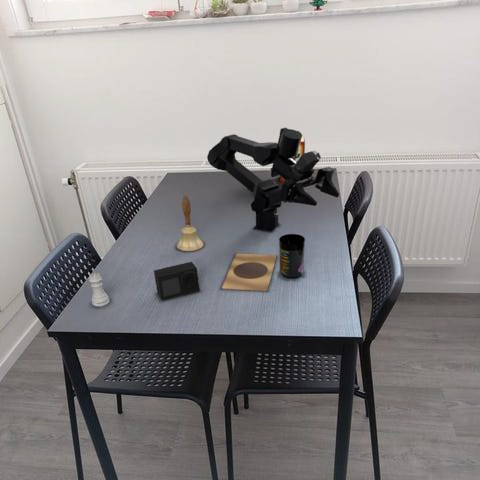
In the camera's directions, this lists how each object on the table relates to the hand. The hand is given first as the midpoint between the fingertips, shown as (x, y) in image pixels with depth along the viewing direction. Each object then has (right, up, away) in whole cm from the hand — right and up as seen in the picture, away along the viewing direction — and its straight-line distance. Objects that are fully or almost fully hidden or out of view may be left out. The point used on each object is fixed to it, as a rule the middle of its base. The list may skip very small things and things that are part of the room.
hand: (327, 199), depth 134 cm
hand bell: (-40, -10, +16) cm, 44 cm away
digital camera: (-40, -27, -8) cm, 49 cm away
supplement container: (-10, -21, -2) cm, 23 cm away
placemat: (-21, -20, 0) cm, 29 cm away
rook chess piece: (-60, -29, -10) cm, 68 cm away
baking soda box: (-3, +25, +65) cm, 70 cm away
